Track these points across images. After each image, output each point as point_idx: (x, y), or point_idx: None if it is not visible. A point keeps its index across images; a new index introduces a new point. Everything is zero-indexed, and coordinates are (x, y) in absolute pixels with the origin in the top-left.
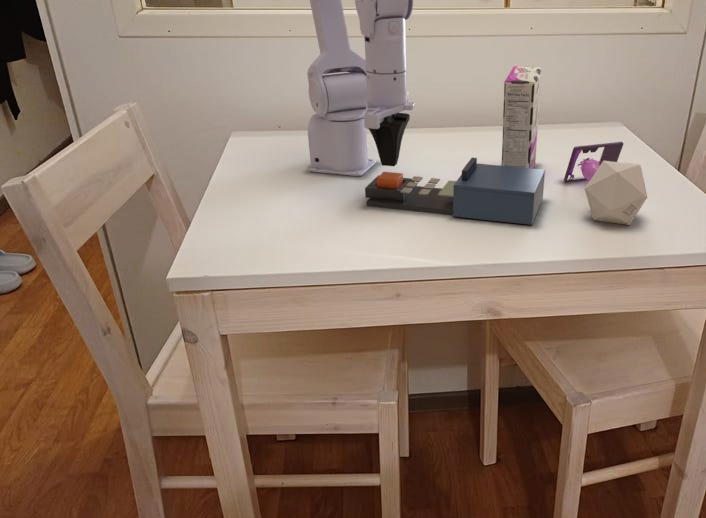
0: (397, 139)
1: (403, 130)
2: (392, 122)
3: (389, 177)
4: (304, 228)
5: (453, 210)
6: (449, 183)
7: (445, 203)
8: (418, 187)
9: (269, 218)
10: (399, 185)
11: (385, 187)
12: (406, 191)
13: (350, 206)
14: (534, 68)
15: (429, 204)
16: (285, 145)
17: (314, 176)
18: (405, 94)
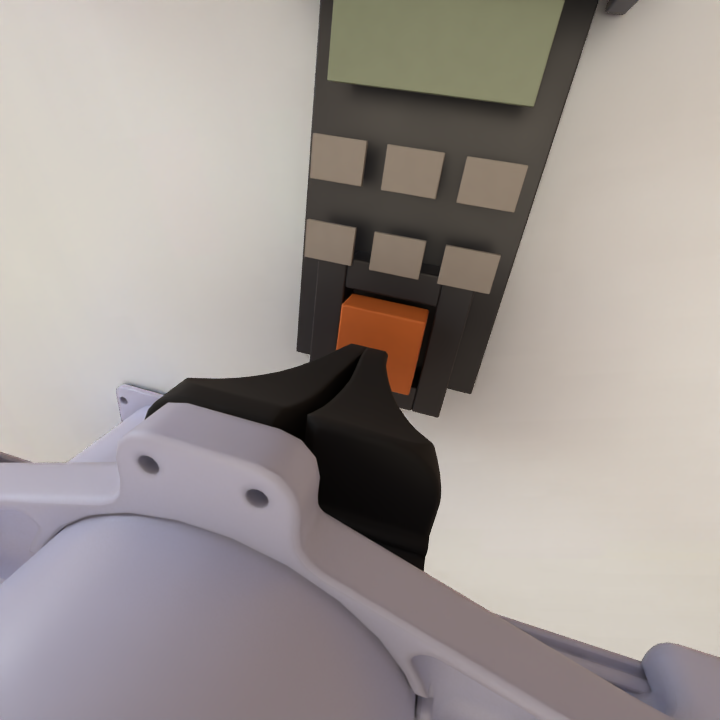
0: (387, 403)
1: (280, 386)
2: (384, 512)
3: (397, 352)
4: (643, 527)
5: (635, 1)
6: (371, 66)
7: None
8: None
9: (554, 590)
10: (396, 304)
11: (430, 353)
12: (491, 269)
13: (466, 428)
14: None
15: (506, 158)
16: None
17: None
18: (129, 672)
